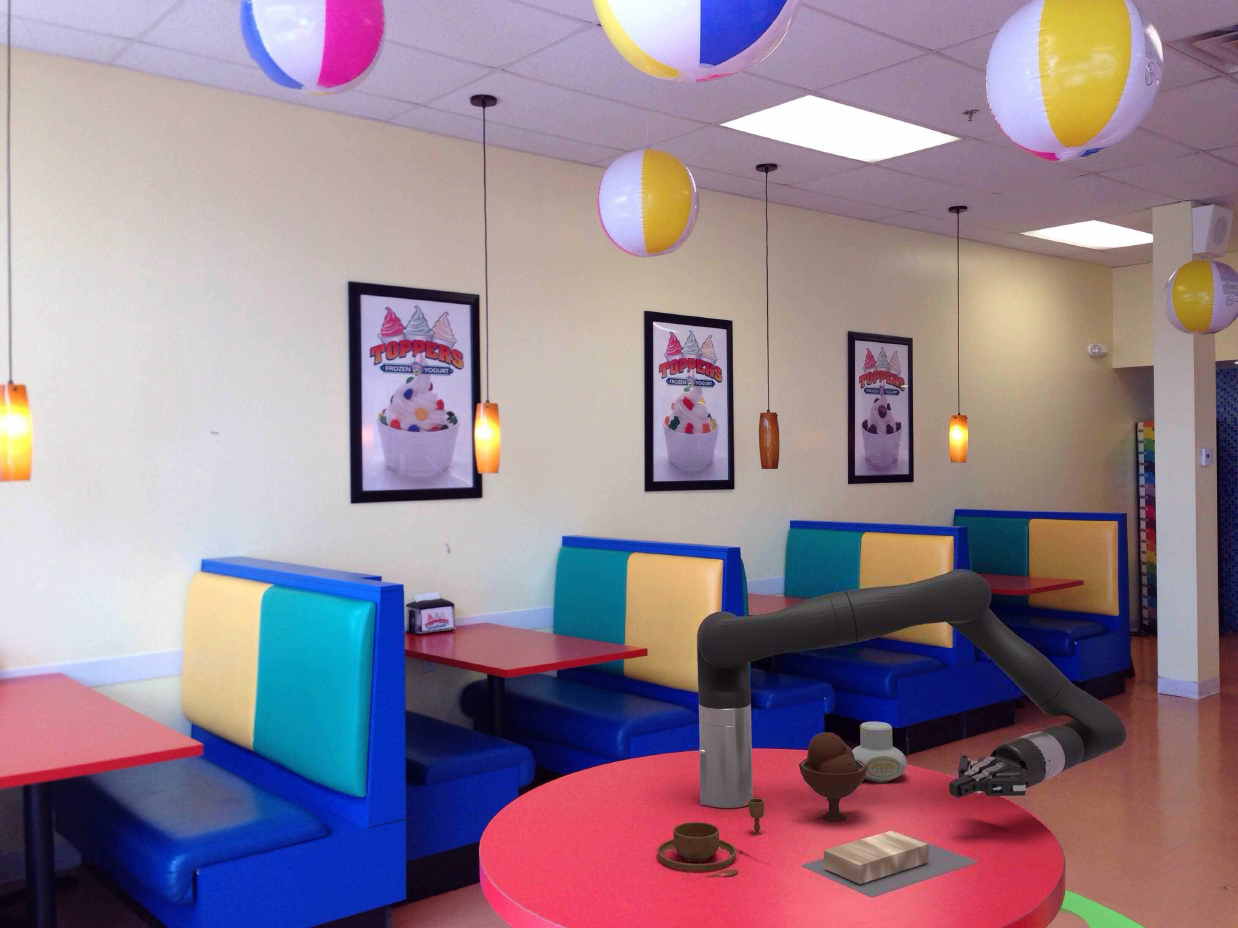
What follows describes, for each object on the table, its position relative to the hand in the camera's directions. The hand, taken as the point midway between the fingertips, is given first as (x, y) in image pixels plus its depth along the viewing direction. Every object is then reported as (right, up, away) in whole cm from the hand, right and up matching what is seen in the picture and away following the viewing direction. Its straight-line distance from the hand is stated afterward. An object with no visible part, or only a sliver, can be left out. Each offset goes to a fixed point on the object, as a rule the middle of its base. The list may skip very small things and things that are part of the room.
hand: (953, 790), depth 158 cm
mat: (-12, -9, -9) cm, 17 cm away
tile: (-9, -6, -7) cm, 12 cm away
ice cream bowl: (-16, -9, +12) cm, 22 cm away
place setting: (-36, -10, -2) cm, 37 cm away
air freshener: (-3, -9, +36) cm, 37 cm away
